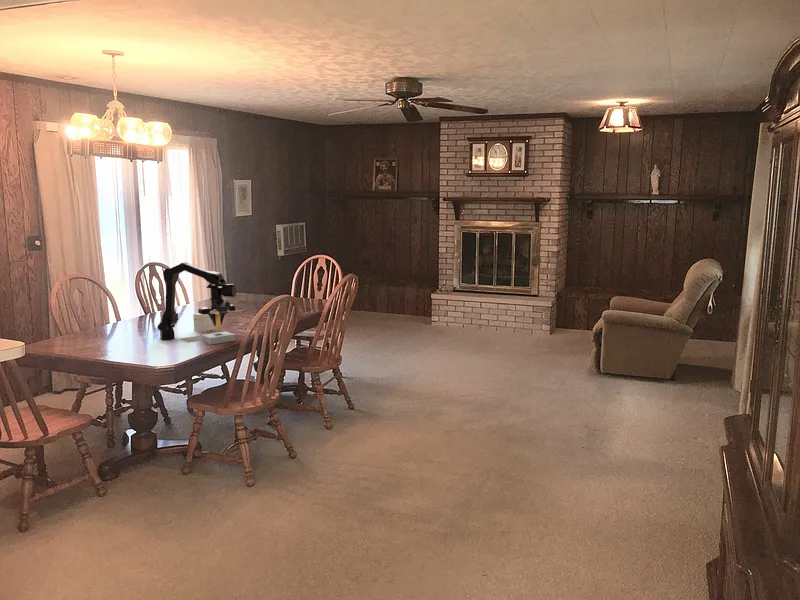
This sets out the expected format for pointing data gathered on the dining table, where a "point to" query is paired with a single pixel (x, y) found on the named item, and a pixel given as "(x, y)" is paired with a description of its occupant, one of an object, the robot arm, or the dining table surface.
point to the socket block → (218, 337)
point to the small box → (202, 322)
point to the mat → (192, 338)
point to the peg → (217, 322)
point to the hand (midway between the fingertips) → (217, 325)
